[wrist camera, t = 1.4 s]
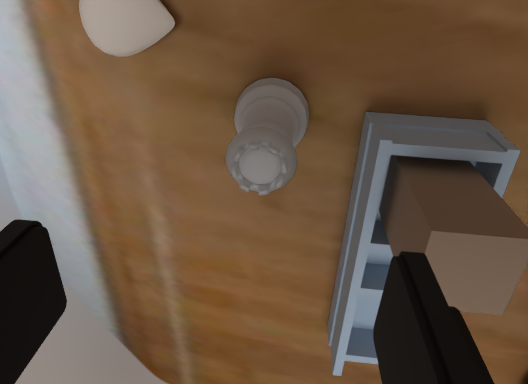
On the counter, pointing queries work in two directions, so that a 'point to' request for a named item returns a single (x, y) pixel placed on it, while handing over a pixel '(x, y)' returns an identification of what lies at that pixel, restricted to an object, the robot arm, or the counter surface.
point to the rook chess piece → (267, 135)
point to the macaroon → (125, 24)
